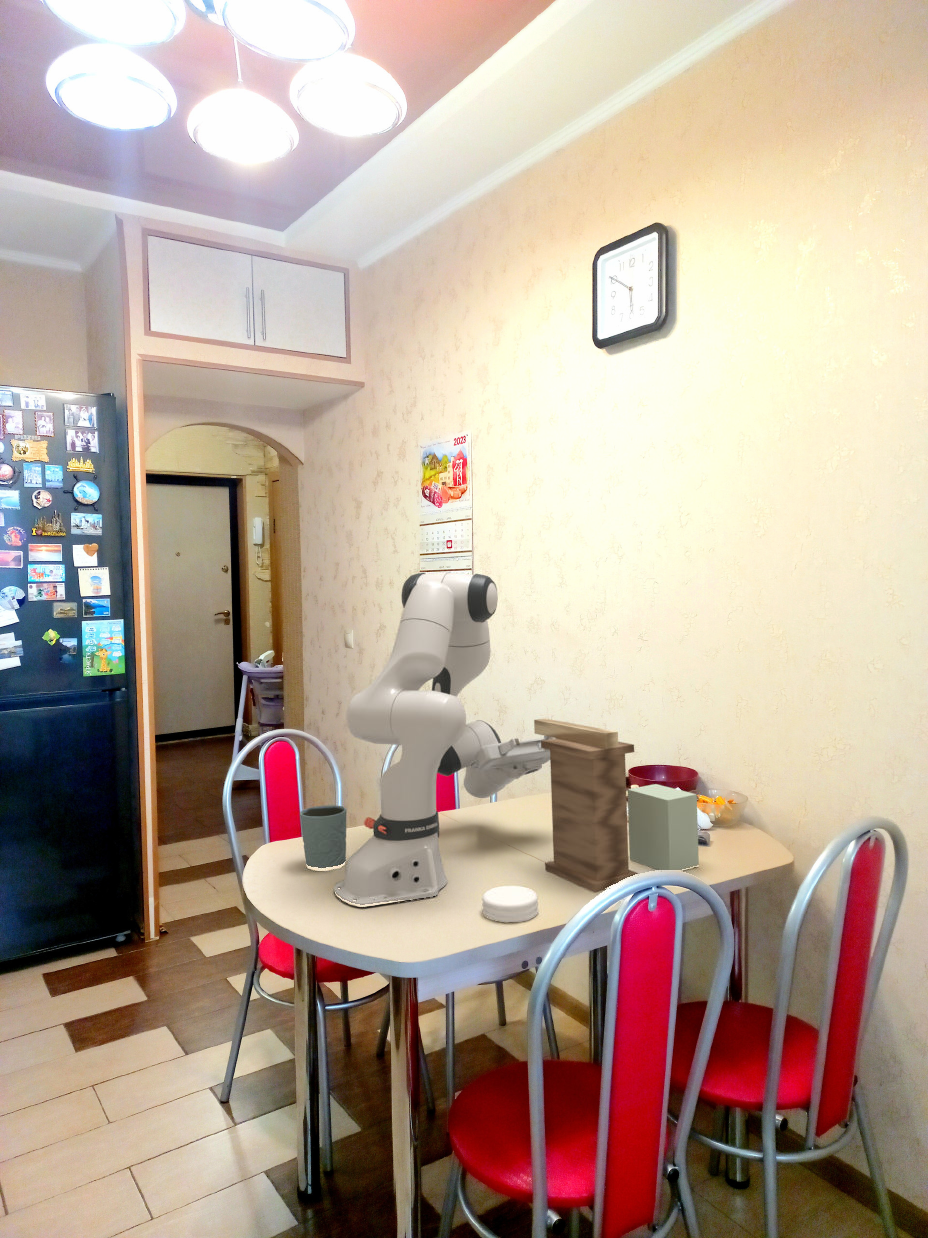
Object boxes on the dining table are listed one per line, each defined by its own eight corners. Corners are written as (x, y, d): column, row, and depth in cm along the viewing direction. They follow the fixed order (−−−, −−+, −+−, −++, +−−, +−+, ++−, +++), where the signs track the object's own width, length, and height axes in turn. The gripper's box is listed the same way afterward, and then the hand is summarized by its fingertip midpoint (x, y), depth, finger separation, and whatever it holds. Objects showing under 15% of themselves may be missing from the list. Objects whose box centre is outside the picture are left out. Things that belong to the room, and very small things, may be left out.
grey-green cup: (327, 875, 173) (325, 818, 173) (291, 868, 178) (289, 813, 178) (358, 861, 182) (356, 807, 181) (323, 855, 187) (321, 802, 187)
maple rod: (606, 749, 159) (605, 733, 159) (534, 733, 180) (534, 719, 180) (618, 747, 160) (617, 731, 160) (545, 732, 181) (545, 718, 181)
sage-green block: (670, 874, 166) (667, 800, 166) (629, 859, 176) (627, 789, 176) (698, 866, 170) (696, 794, 170) (657, 852, 180) (655, 784, 180)
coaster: (549, 912, 149) (548, 893, 149) (512, 929, 142) (511, 909, 142) (508, 899, 156) (508, 881, 156) (471, 915, 149) (470, 895, 149)
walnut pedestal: (594, 892, 158) (589, 751, 157) (545, 870, 171) (540, 740, 171) (638, 880, 163) (634, 744, 162) (587, 860, 177) (583, 734, 176)
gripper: (463, 755, 189) (490, 731, 178) (536, 744, 199) (566, 721, 189) (471, 781, 186) (498, 758, 176) (545, 769, 197) (575, 747, 186)
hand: (534, 739), depth 182 cm, fingers open, 8 cm apart
